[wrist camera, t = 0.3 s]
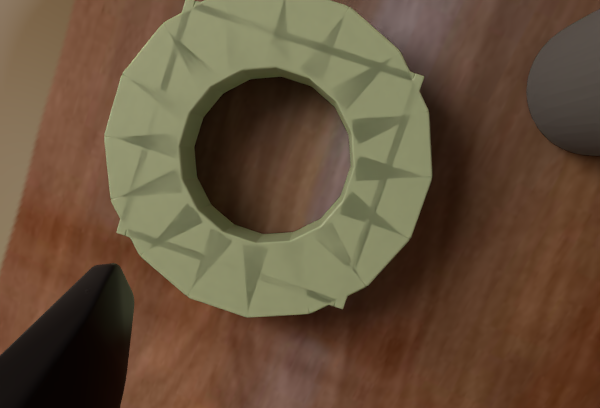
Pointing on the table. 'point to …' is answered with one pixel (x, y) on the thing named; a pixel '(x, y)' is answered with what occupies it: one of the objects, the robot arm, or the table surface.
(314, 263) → the holder
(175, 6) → the table surface
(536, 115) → the bottle
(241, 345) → the table surface
